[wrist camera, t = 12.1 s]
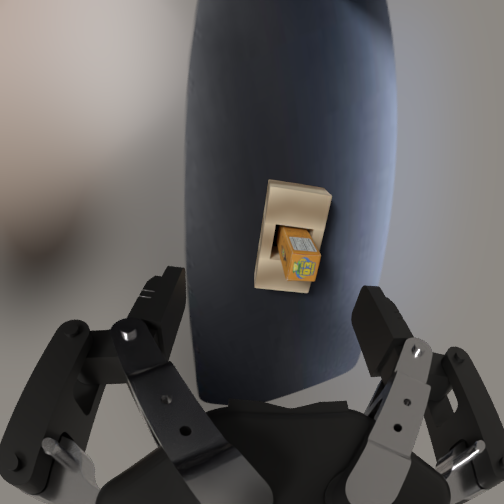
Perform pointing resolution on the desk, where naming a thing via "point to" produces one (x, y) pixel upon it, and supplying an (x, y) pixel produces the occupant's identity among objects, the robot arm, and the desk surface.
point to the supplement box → (297, 253)
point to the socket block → (289, 214)
